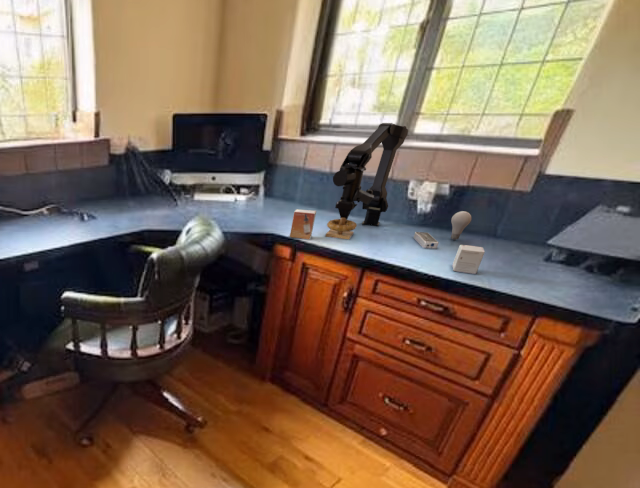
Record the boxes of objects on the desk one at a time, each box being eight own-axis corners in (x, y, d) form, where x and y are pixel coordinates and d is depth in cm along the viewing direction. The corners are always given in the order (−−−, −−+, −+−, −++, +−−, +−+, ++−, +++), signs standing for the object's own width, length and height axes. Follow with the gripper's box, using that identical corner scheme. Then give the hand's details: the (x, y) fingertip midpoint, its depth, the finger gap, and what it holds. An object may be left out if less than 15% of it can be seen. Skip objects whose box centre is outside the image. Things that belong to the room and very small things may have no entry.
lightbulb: (457, 243, 161) (468, 214, 156) (441, 239, 166) (451, 211, 161) (466, 240, 164) (477, 212, 158) (450, 237, 168) (460, 209, 163)
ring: (330, 222, 179) (331, 217, 178) (358, 226, 173) (359, 220, 172) (324, 230, 171) (325, 224, 170) (352, 233, 166) (354, 227, 165)
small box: (289, 237, 173) (293, 211, 168) (291, 234, 177) (295, 208, 172) (309, 239, 169) (315, 213, 164) (311, 236, 174) (316, 210, 169)
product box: (452, 271, 135) (460, 249, 132) (451, 265, 140) (459, 244, 136) (476, 274, 132) (485, 252, 129) (474, 268, 137) (483, 246, 133)
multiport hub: (425, 238, 168) (427, 232, 167) (437, 248, 156) (439, 242, 154) (413, 237, 169) (414, 231, 168) (423, 248, 157) (425, 241, 156)
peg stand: (330, 231, 179) (333, 214, 176) (353, 234, 175) (357, 216, 171) (325, 236, 173) (329, 219, 169) (349, 239, 168) (353, 221, 165)
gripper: (371, 188, 156) (361, 230, 164) (378, 181, 170) (368, 220, 177) (339, 186, 162) (330, 226, 170) (348, 179, 175) (340, 217, 183)
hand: (343, 222), depth 175 cm, fingers closed on ring, 2 cm apart
